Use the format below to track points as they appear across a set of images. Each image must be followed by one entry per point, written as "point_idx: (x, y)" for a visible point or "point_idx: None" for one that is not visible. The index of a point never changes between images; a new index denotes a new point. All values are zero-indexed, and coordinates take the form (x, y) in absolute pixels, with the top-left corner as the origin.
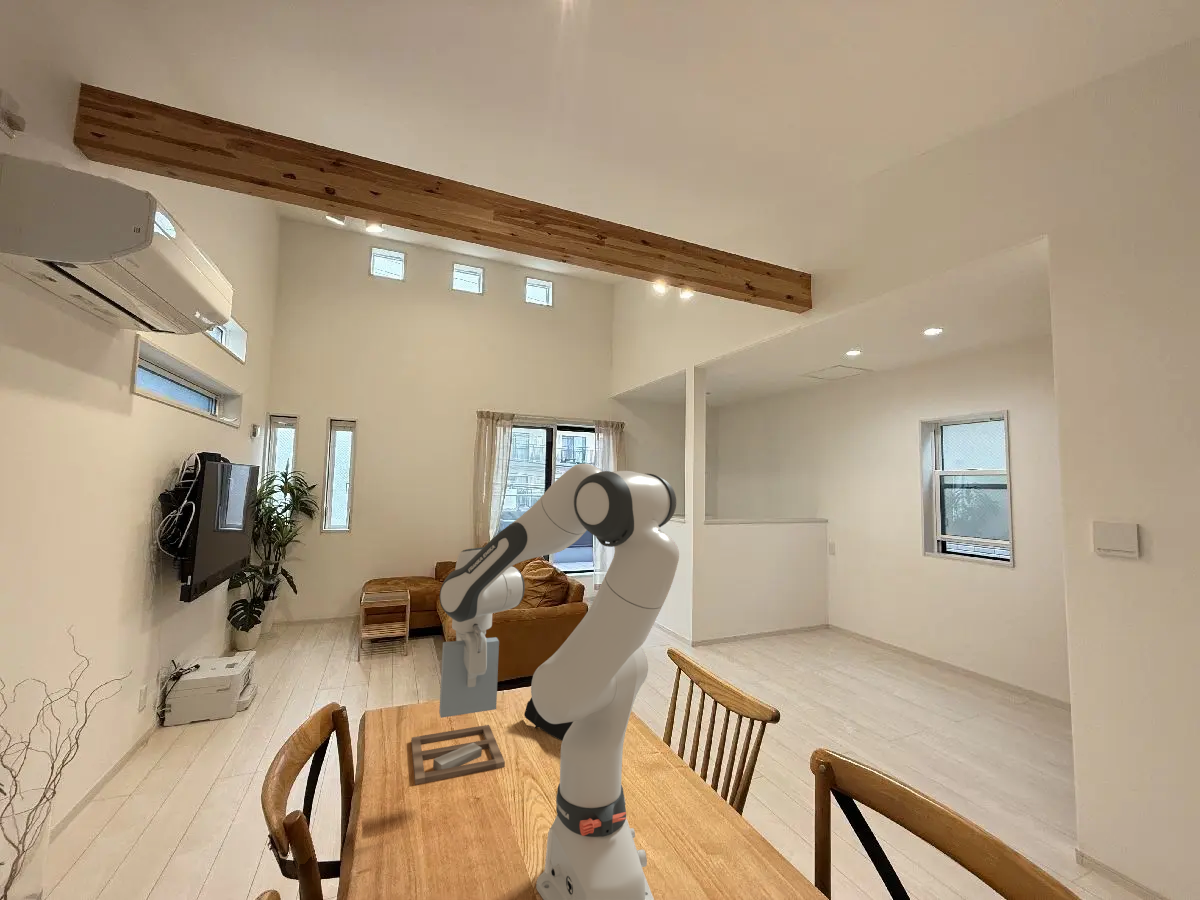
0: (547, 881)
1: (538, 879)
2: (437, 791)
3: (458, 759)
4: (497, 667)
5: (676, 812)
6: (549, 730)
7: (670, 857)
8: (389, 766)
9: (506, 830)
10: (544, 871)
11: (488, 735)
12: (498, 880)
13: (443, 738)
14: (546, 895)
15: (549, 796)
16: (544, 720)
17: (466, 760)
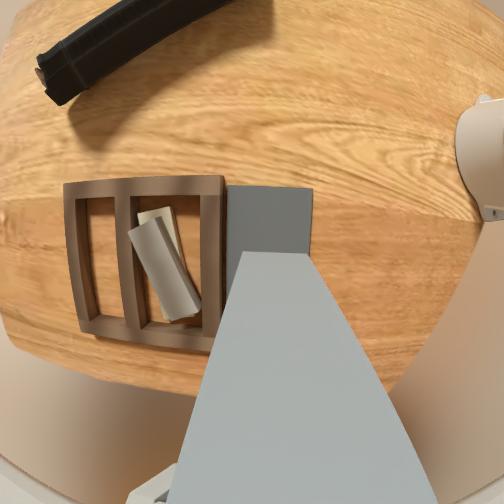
0: (492, 209)
1: (488, 219)
2: None
3: (181, 273)
4: (379, 383)
5: (422, 3)
6: (122, 60)
7: (483, 65)
8: (138, 361)
9: (393, 221)
10: (483, 207)
11: (100, 190)
12: (459, 257)
13: (84, 278)
14: (501, 219)
15: (339, 118)
16: (101, 64)
17: (175, 252)
